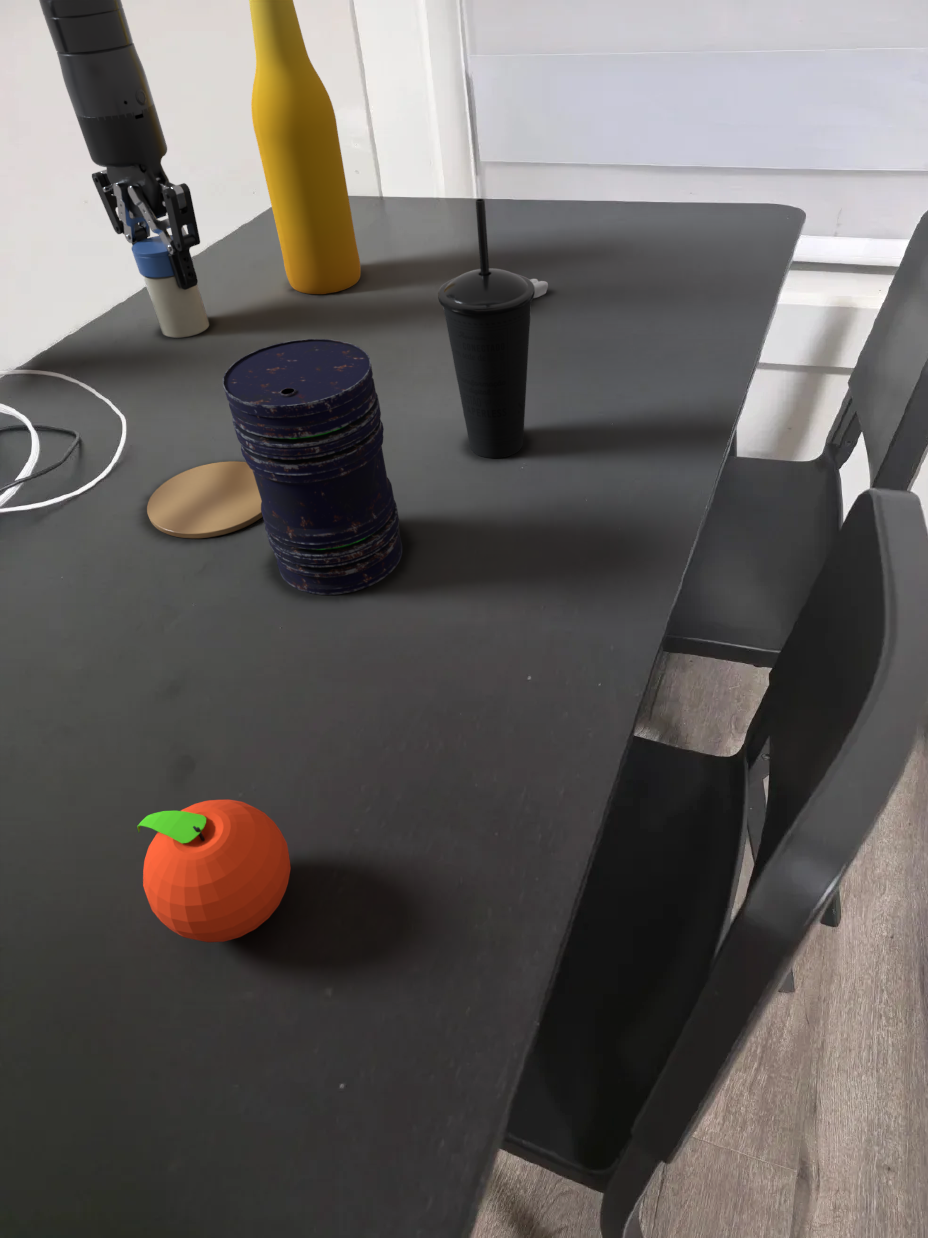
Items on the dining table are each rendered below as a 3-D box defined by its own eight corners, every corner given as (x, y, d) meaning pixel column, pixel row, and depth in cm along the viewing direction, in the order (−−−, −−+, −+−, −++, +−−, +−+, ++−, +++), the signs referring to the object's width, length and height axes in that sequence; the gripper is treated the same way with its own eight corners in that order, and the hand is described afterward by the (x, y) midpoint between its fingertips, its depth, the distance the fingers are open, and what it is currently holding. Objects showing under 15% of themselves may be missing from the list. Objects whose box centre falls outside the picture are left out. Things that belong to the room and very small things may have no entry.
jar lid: (134, 280, 91) (126, 255, 90) (143, 261, 95) (135, 237, 94) (189, 274, 92) (182, 250, 90) (196, 256, 96) (189, 232, 94)
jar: (158, 340, 96) (130, 259, 90) (165, 321, 100) (139, 242, 94) (206, 335, 97) (182, 254, 90) (211, 316, 100) (188, 238, 94)
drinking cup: (473, 475, 73) (449, 224, 58) (442, 435, 78) (414, 195, 63) (553, 453, 74) (549, 204, 60) (518, 416, 80) (506, 178, 65)
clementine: (126, 936, 43) (67, 860, 38) (205, 829, 48) (162, 748, 43) (257, 986, 41) (214, 913, 36) (328, 869, 46) (298, 789, 40)
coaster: (126, 536, 69) (124, 531, 68) (179, 464, 76) (177, 459, 76) (255, 540, 67) (253, 535, 67) (295, 467, 75) (294, 462, 75)
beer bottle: (375, 282, 105) (328, -16, 85) (307, 301, 102) (242, -4, 81) (342, 262, 111) (291, -22, 90) (277, 280, 108) (209, -12, 87)
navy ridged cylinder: (292, 519, 69) (242, 340, 59) (410, 516, 69) (382, 335, 58) (263, 597, 62) (201, 409, 52) (395, 595, 62) (359, 405, 51)
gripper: (39, 105, 84) (105, 280, 96) (124, 119, 77) (184, 306, 89) (104, 89, 88) (159, 259, 100) (190, 101, 81) (238, 282, 93)
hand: (171, 280), depth 95 cm, fingers closed on jar lid, 5 cm apart
